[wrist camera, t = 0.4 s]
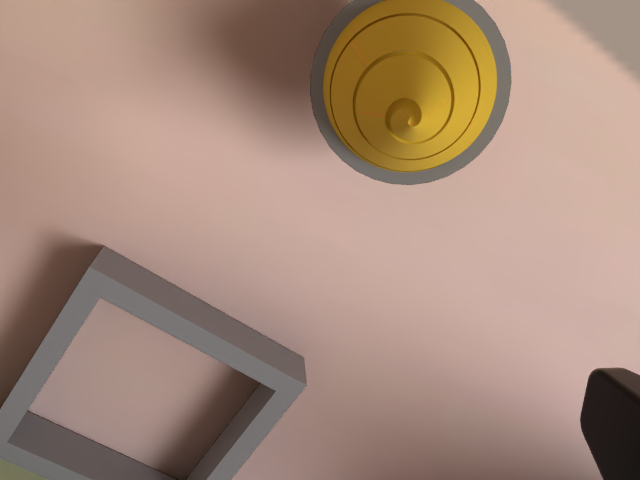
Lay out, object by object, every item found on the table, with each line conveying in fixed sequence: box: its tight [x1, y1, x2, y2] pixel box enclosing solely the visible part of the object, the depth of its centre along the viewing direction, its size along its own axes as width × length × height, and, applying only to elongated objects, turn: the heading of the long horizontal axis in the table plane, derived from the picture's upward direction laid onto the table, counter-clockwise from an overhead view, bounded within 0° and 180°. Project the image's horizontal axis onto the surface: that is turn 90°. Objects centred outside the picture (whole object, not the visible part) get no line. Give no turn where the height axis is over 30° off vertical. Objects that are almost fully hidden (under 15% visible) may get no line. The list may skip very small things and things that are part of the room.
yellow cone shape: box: [310, 0, 511, 185], centre depth 14 cm, size 5×5×10 cm
